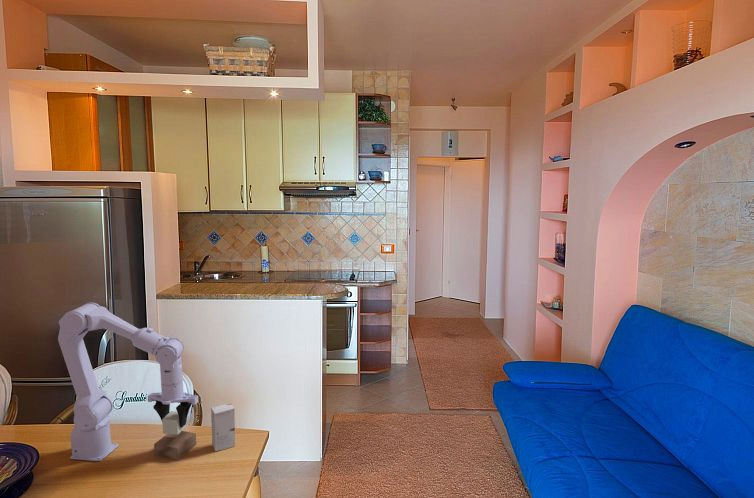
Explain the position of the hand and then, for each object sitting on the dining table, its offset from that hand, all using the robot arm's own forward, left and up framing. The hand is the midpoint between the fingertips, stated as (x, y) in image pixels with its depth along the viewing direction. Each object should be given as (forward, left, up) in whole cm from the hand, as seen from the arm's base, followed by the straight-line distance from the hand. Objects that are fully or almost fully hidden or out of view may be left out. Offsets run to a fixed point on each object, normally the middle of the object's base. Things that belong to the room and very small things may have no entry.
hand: (174, 425), depth 130 cm
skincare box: (+13, +4, -8) cm, 16 cm away
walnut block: (0, 0, -8) cm, 8 cm away
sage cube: (0, 0, -2) cm, 2 cm away
